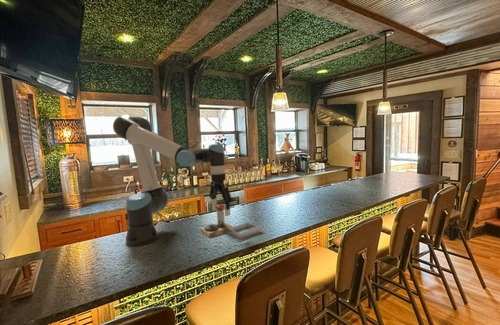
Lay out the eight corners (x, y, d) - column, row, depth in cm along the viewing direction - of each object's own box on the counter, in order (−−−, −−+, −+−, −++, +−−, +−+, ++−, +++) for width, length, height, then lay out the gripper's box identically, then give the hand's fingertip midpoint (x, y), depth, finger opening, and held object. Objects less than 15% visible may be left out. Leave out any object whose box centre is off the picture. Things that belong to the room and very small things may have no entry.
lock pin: (219, 232, 130) (218, 206, 129) (215, 229, 134) (213, 205, 133) (227, 229, 133) (226, 205, 132) (223, 227, 137) (221, 203, 136)
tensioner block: (208, 239, 124) (208, 229, 124) (200, 233, 132) (199, 224, 132) (232, 232, 132) (232, 222, 132) (223, 227, 140) (222, 218, 140)
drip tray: (239, 240, 120) (239, 234, 120) (227, 234, 129) (227, 228, 129) (261, 233, 128) (260, 227, 128) (248, 228, 137) (248, 222, 137)
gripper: (237, 174, 123) (239, 216, 125) (213, 171, 143) (216, 207, 145) (223, 176, 119) (226, 219, 121) (201, 172, 139) (204, 209, 141)
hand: (221, 212), depth 133 cm, fingers open, 13 cm apart
